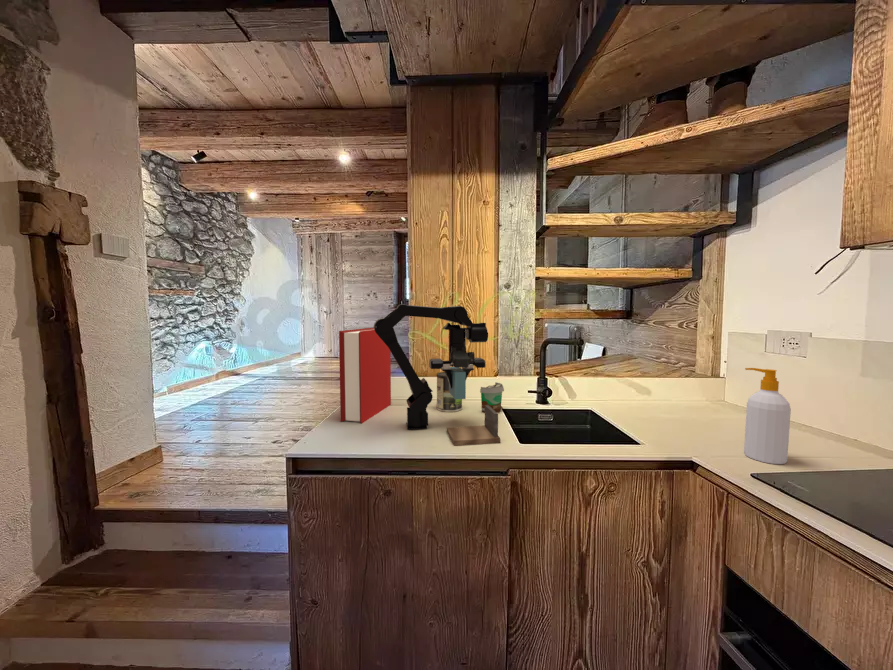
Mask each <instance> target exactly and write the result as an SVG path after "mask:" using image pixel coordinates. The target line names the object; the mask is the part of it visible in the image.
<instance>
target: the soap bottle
mask: <svg viewBox="0 0 893 670" xmlns="http://www.w3.org/2000/svg"><path fill="white" fill-rule="evenodd" d="M744 370H745V371H755V372H756V371H757V372H761V373H764V376H763V377H762V379H760V390H758V391H756V392H754V393H753V394H752V395H750V396H749V397H748V399H747V402H746V412H745V413H746V414H745V426H744V427H745V429H744V432H745V433H744V445H743V454H744V455H745V456H746V457H748V458H750V459H752V460H755V461H757V462H760V463H761V462H762V463H765V464H772V465H784V464H786V463H787V462H788V456H789V455H788V454H789V442H790V427H791V425H790V424H791V413H792V412H791V404H790V402H789V401H788V400H787V399H786V397H784V396H783V394H781V393H780V392H779V388H780V387H779V385H780V384H779V383H780V382H779V381H778V378H777V377H776V374H777V373H776V372H777V370H776V369H768V368H766V369H763V368H756V367H745V368H744Z"/></svg>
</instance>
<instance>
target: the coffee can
mask: <svg viewBox="0 0 893 670" xmlns="http://www.w3.org/2000/svg"><path fill="white" fill-rule="evenodd" d="M436 410H437V411H440V412H444V413H453V412H454V413H455V412H459V411H460V412H461V411H462V410H463V399H454V397H453V396H452V395H451V394H450V393H449V382H448V379H447V376H446V374H445V372H444V371H440V372H437V373H436Z"/></svg>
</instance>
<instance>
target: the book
mask: <svg viewBox="0 0 893 670" xmlns="http://www.w3.org/2000/svg"><path fill="white" fill-rule="evenodd" d="M338 339H339V340H338V341H339V342H338V345H339V346H338V347H339V349H338V351H339V353H338V354H339V399H340V400H339V405H340V408H339V409H340V411H339V412H340V423H341V422H345V421H347V422H348V421H349V422H359V423H360V424H364V423H365V422H367V421H368V420H370V419H371V418H373V417H374V416H376V415H377V414H379V413H380V412H382V411H384V410H385V409H387V408H388V407H390V406H391V405H392V384H391V383H392V382H391V381H392V378H391V377H392V376H391V375H392V374H391V373H392V372H391V369H392V368H391V367H392V366H391V365H392V364H391V362H392V360H391V358H392V356H391V354H392V353H391V351H390V350H389V348H388V346H387V345H386V344H385V343H384V342H383V341H382V339H381V338H380V337H379V336H378V335H377V333H376V332H375V330H374V327H366V328H365V327H364V328H354V329H346V330H338Z"/></svg>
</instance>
